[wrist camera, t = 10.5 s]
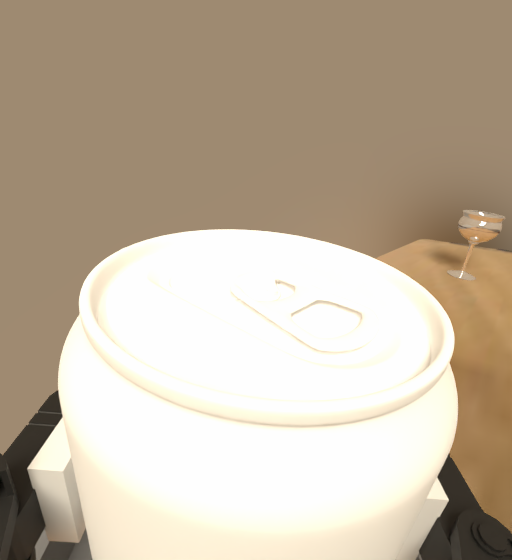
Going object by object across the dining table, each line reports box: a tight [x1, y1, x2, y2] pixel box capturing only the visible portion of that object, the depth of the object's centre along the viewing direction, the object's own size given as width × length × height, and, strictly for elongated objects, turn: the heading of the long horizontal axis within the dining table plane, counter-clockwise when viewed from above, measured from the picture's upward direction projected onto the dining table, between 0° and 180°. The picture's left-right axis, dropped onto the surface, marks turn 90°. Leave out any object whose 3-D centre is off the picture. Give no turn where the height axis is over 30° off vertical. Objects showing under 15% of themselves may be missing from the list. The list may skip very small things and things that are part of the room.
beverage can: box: [58, 230, 458, 560], centre depth 9 cm, size 8×8×12 cm
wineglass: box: [447, 210, 505, 280], centre depth 61 cm, size 7×7×12 cm
